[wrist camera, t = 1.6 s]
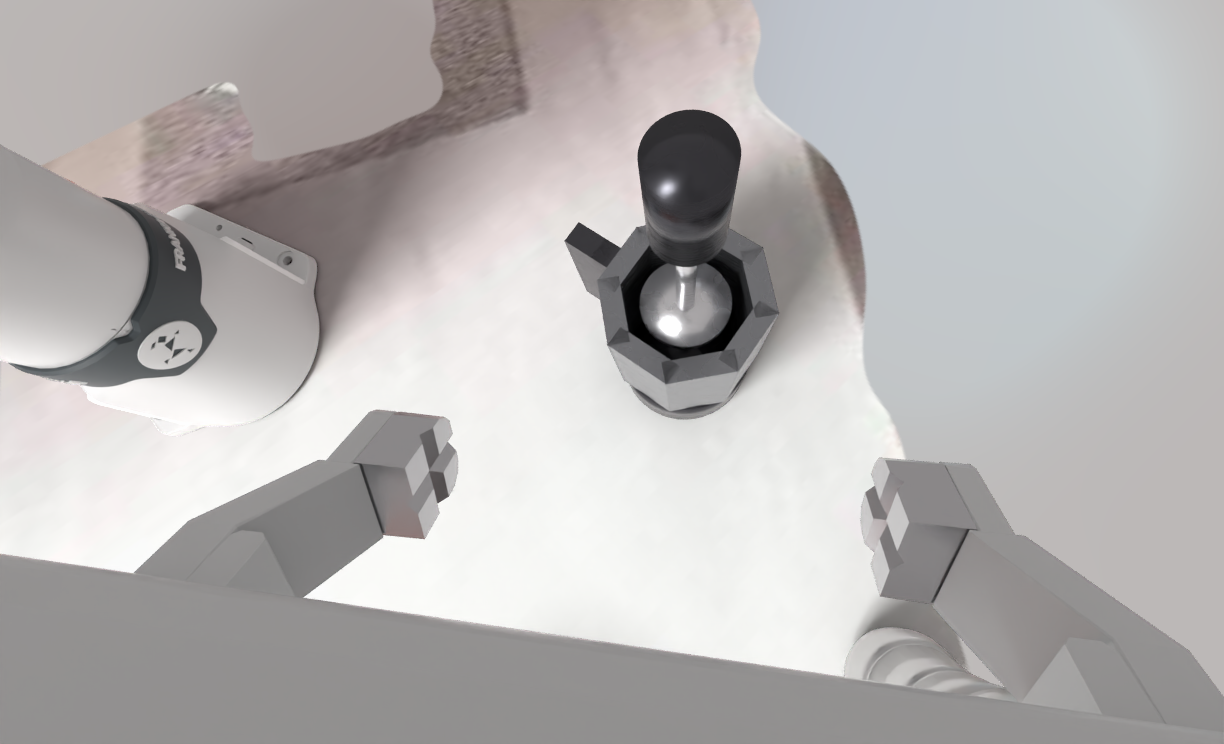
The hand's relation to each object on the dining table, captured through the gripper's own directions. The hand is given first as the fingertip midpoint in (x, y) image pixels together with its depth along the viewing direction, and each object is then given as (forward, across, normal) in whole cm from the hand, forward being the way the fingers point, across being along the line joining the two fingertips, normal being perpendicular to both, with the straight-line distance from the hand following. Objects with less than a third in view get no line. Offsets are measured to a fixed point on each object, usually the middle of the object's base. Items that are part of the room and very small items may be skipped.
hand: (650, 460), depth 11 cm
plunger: (+20, 0, +6) cm, 21 cm away
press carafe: (+30, +1, +15) cm, 33 cm away
